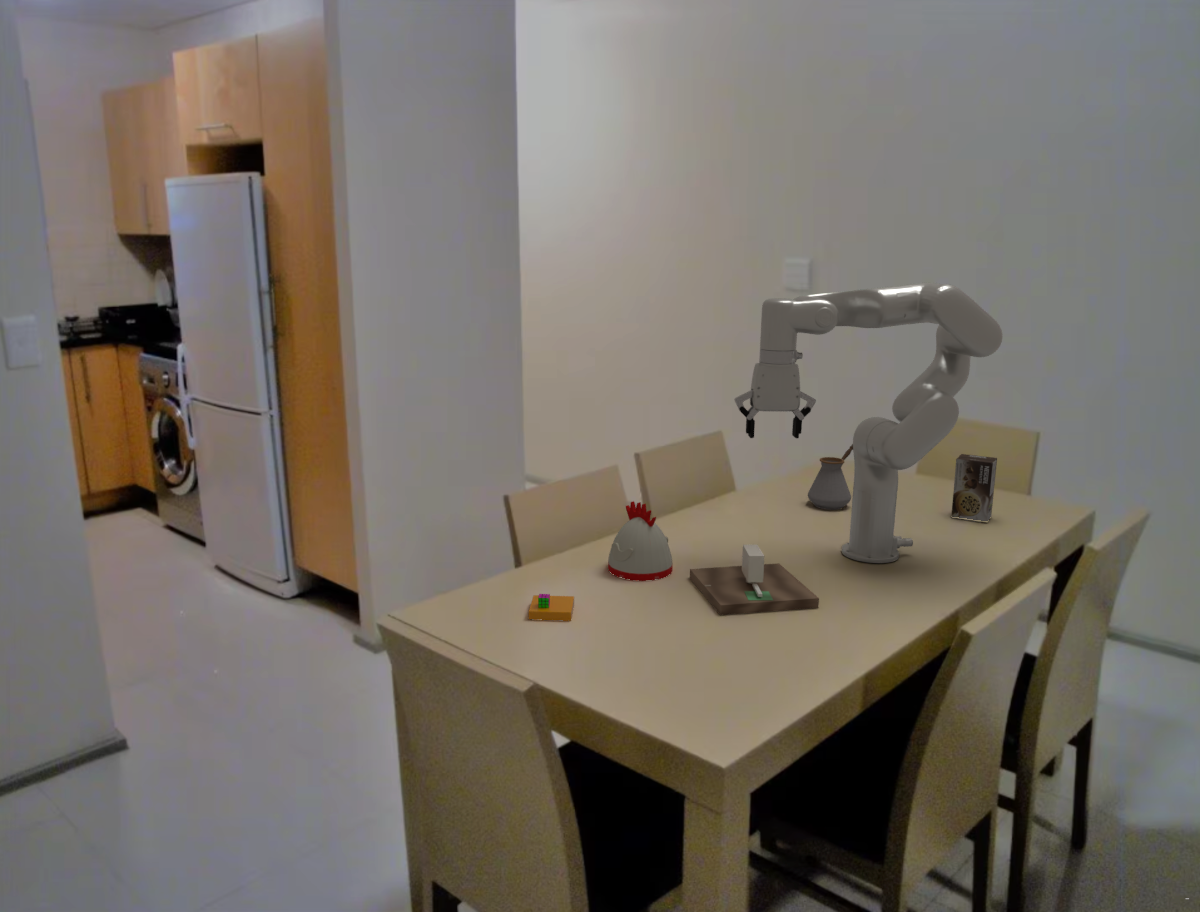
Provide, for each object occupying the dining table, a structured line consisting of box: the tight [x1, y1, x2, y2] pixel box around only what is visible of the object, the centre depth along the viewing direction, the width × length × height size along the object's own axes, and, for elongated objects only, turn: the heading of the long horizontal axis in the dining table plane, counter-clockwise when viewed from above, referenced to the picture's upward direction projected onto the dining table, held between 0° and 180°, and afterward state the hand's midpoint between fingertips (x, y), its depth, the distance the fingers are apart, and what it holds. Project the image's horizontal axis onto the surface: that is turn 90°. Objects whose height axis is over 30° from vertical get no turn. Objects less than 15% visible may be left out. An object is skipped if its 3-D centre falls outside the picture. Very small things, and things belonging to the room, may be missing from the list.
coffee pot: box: [807, 443, 853, 511], centre depth 249 cm, size 21×12×15 cm, turn 141°
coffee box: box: [950, 453, 998, 521], centre depth 236 cm, size 9×6×16 cm
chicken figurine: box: [607, 500, 673, 582], centre depth 196 cm, size 14×14×15 cm
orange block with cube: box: [528, 593, 575, 622], centre depth 174 cm, size 8×8×4 cm
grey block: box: [741, 544, 765, 597], centre depth 182 cm, size 12×3×7 cm, turn 2°
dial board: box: [689, 563, 820, 616], centre depth 185 cm, size 20×20×2 cm
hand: (773, 437), depth 197 cm, fingers open, 9 cm apart
